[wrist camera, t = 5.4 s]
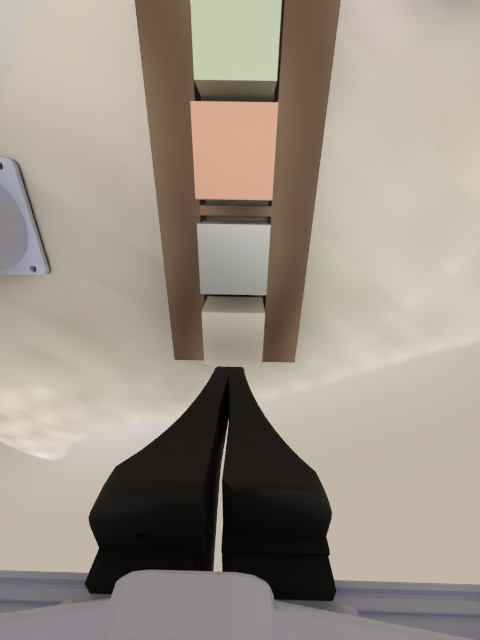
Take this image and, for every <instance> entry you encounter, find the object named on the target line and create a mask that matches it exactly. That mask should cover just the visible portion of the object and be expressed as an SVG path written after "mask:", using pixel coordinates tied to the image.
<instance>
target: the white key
mask: <svg viewBox="0 0 480 640" xmlns="http://www.w3.org/2000/svg"><path fill="white" fill-rule="evenodd" d="M201 313H202V332H203V350H204V365H217V366H262V357H263V341H264V325H265V310H264V305H263V299H262V297H217V296H208V297H207V300H206V302H205V305H204V307H203V310H202V312H201Z"/></svg>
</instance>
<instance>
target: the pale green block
mask: <svg viewBox="0 0 480 640" xmlns="http://www.w3.org/2000/svg"><path fill="white" fill-rule="evenodd" d="M190 6H191V27H192V48H193V70H194V81H195V84H196V86H197V88H198V91H199V93H200V96H201V98H202V101H222V102H272V98H273V94H274V91H275V87H276V83H277V73H278V56H279V39H280V22H281V6H282V0H190Z"/></svg>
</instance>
